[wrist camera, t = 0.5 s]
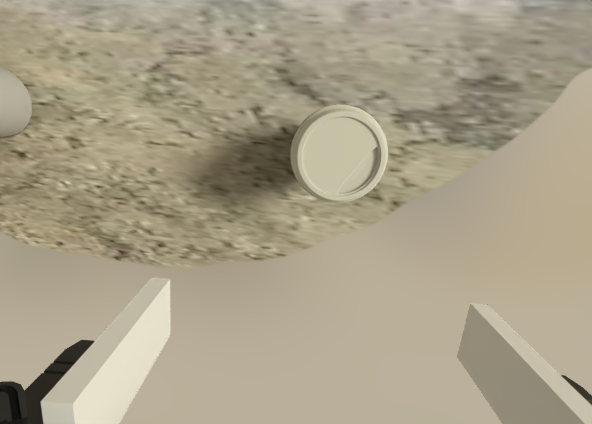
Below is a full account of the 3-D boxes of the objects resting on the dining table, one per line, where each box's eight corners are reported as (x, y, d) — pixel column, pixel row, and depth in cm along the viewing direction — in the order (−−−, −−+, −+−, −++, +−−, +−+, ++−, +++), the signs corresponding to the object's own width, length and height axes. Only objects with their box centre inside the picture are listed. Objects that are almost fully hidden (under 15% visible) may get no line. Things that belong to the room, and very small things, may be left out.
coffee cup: (305, 192, 41) (309, 220, 30) (281, 123, 39) (275, 125, 28) (373, 169, 41) (404, 188, 29) (352, 97, 38) (377, 88, 27)
